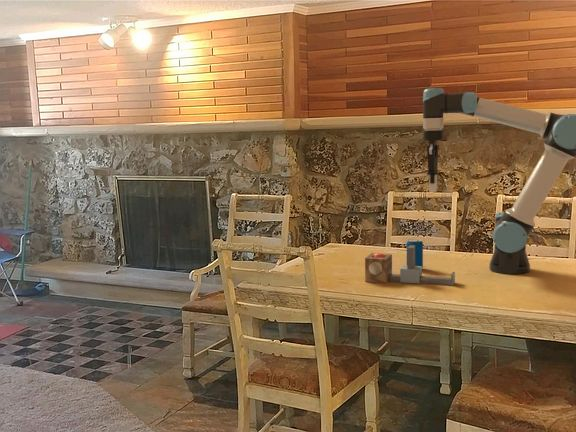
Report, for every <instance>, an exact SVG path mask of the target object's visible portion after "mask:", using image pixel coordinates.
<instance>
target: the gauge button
mask: <svg viewBox="0 0 576 432" xmlns="http://www.w3.org/2000/svg"><path fill="white" fill-rule="evenodd" d="M383 254H384V253H382V252H375V254H374V257H378V258H384V256H383Z"/></svg>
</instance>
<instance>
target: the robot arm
mask: <svg viewBox="0 0 576 432" xmlns="http://www.w3.org/2000/svg"><path fill="white" fill-rule="evenodd" d="M422 95H423V97H422V120H423V121H421V124H422V128H423V132H422V140H423V141H427V142H428V145H426V153H427V154H426V155H427V173H426V175H427V176H428V192H430V193H437V188H438V186H437V184H438V183H437V182H438V179H437V178H438V176H437V175H439V174H440V173H439V172H438V171H439V169H438V165H439V150H440V145H439V144H438V141H443V140H444V131H443V129H444V115H445V114H460V115H461V114H462V115H466V116H471V117H473V118H474V117H475V118H479V119H482V120H486V121H490V122H494V123H498V124H501V125H504V126H509V127H511V128H512V127H513V128H516V129H520V130H523V131H526V132H531V133H535V134H539V136H540V137H541V138H542V139H543V138H544V139H545V141H544V142H543V146H544V151H543V153H542V154H541V156H540V158H539V159H538V162H536V165H535V166H534V169H532V172H531V173H530V176H529V177H528V179H527V181H525V184H524V186H523V188H522V189H521V191H520V193H519V195H518V196H517V198H516V200H515V201H514V203H513V205H512V207H511V208H508V209H507V208H506V209H505V211H504V212H497V213H495V217H494V230H493V232H492V240H493V243H494V248H493V249H494V250H493V253H492V256H491V259H490V261H489V270H490V271H491V272H495V273H497V274H505V275H521V274H528V273H529V272H531V264H530V261H529V258H528V254H527V250H526V249H527V241H528V238H529V236H530V235H531V233H532V231H533V230H534V227H535V226H536V224H535V217H536V216H537V214H538V213H539V212H540V210H541V207H542V205H543V204H544V202H545V201H546V199H547V198H548V195H549V193H550V192H551V190H552V188H553V187H554V185H555V183H556V181H557V180H558V179H559V177H560V175H561V173H562V171H563V170H564V168H565V166H566V165H567V163H568V161H570V160H574V159H575V158H576V114H575V113H568V114H559V113H554V112H548V113H543V112H539V111H535V110H531V109H526V108H522V107H520V106H519V107H518V106H514V105H512V104H507V103H502V102H498V101H495V100H490V99H487V98H484V97H483V98H482V97H478V96H477V93H476V92H473V91H472V92H469V91H465V92H449V93H445V91H444V88H441V87H437V88H435V87H434V88H433V87H432V88H426V89H424V90H423V94H422Z"/></svg>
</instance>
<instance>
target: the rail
mask: <svg viewBox="0 0 576 432" xmlns="http://www.w3.org/2000/svg"><path fill="white" fill-rule="evenodd" d="M388 282H400V273H399V274H397V273H392V274H389V276H388ZM400 283H401V282H400ZM455 283H456V272H455V271H452V273H451V275H450V277H447V276H445V277H444V276H443V277H442V276H432V275H431V276H429V275H422V276H420V283H419V284H427V285H432V284H433V285H444V286H451V287H453V286H454V285H455Z"/></svg>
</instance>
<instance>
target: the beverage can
mask: <svg viewBox="0 0 576 432" xmlns="http://www.w3.org/2000/svg"><path fill="white" fill-rule="evenodd" d="M423 243H424V242H423V240H422V239H419V238H409V239H407V242H406V249H407V248H408V247H409V246H410V245H415V266H422V269H423V268H424V244H423Z"/></svg>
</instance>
